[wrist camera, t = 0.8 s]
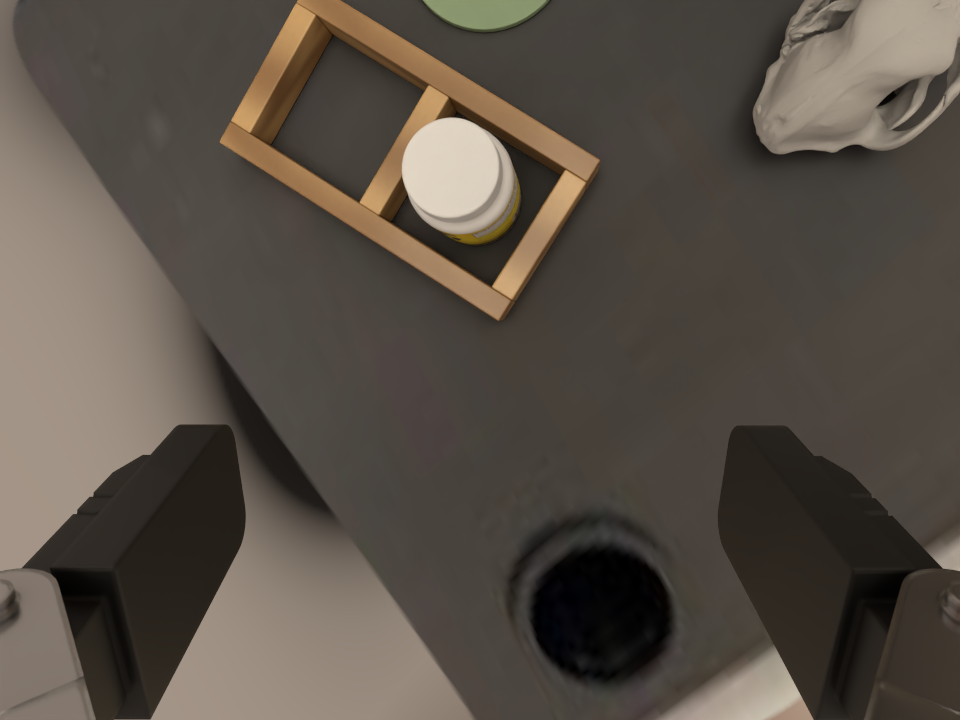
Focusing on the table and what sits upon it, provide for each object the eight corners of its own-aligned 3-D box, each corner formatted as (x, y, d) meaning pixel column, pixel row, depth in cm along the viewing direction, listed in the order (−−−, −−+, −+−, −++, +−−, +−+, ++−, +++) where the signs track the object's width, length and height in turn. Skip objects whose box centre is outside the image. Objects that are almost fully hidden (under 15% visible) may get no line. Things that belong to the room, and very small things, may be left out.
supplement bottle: (413, 194, 36) (367, 158, 28) (483, 135, 35) (458, 79, 27) (469, 266, 36) (440, 251, 27) (541, 208, 35) (533, 175, 27)
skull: (700, 78, 31) (969, -199, 22) (775, 54, 37) (1016, -175, 28) (806, 214, 30) (1132, -13, 21) (867, 168, 36) (1146, -27, 27)
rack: (326, 3, 36) (308, -21, 33) (598, 170, 35) (601, 159, 32) (242, 153, 37) (218, 142, 34) (503, 320, 36) (498, 321, 33)
